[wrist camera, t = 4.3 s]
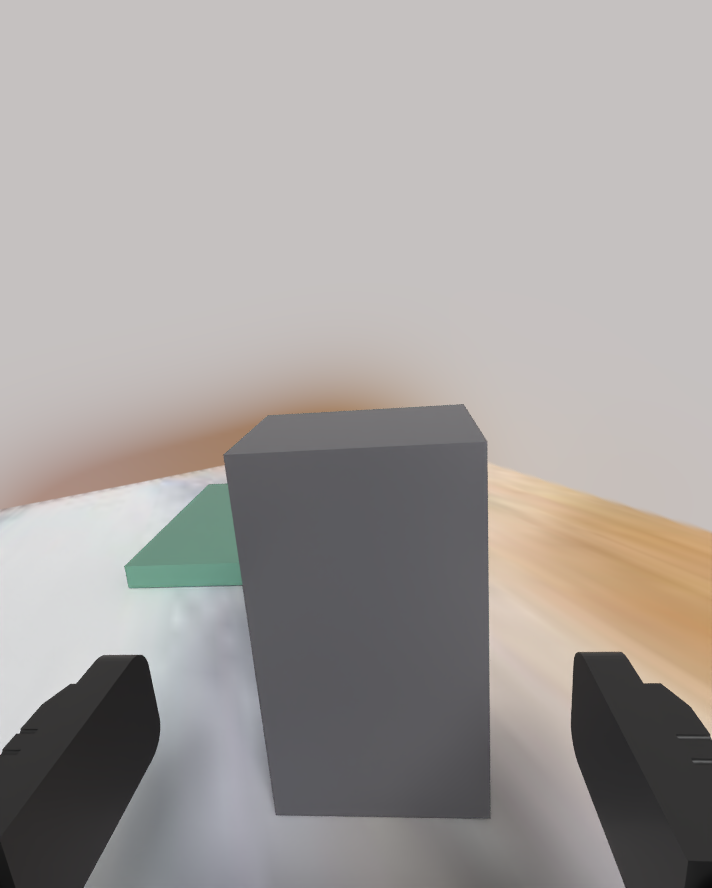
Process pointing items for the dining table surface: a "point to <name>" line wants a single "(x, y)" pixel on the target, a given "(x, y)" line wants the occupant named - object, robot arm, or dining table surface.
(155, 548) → the pin board
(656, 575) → the dining table surface
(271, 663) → the block
